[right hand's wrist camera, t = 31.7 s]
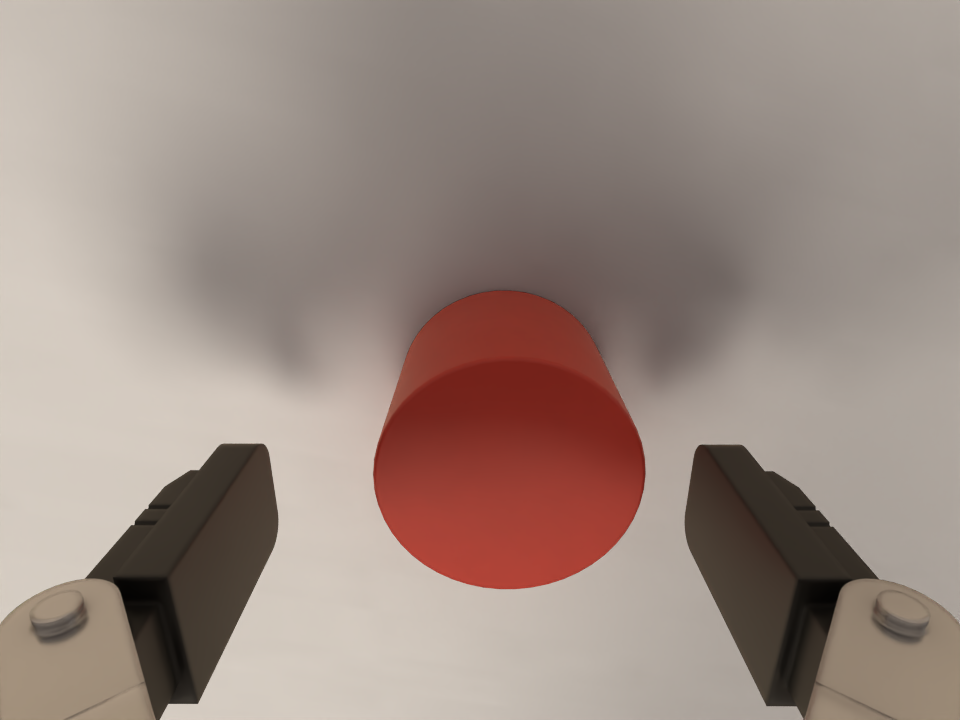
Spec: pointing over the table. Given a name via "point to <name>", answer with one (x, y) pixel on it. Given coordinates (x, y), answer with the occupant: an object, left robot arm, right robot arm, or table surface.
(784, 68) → the table surface
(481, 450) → the can
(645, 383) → the table surface
